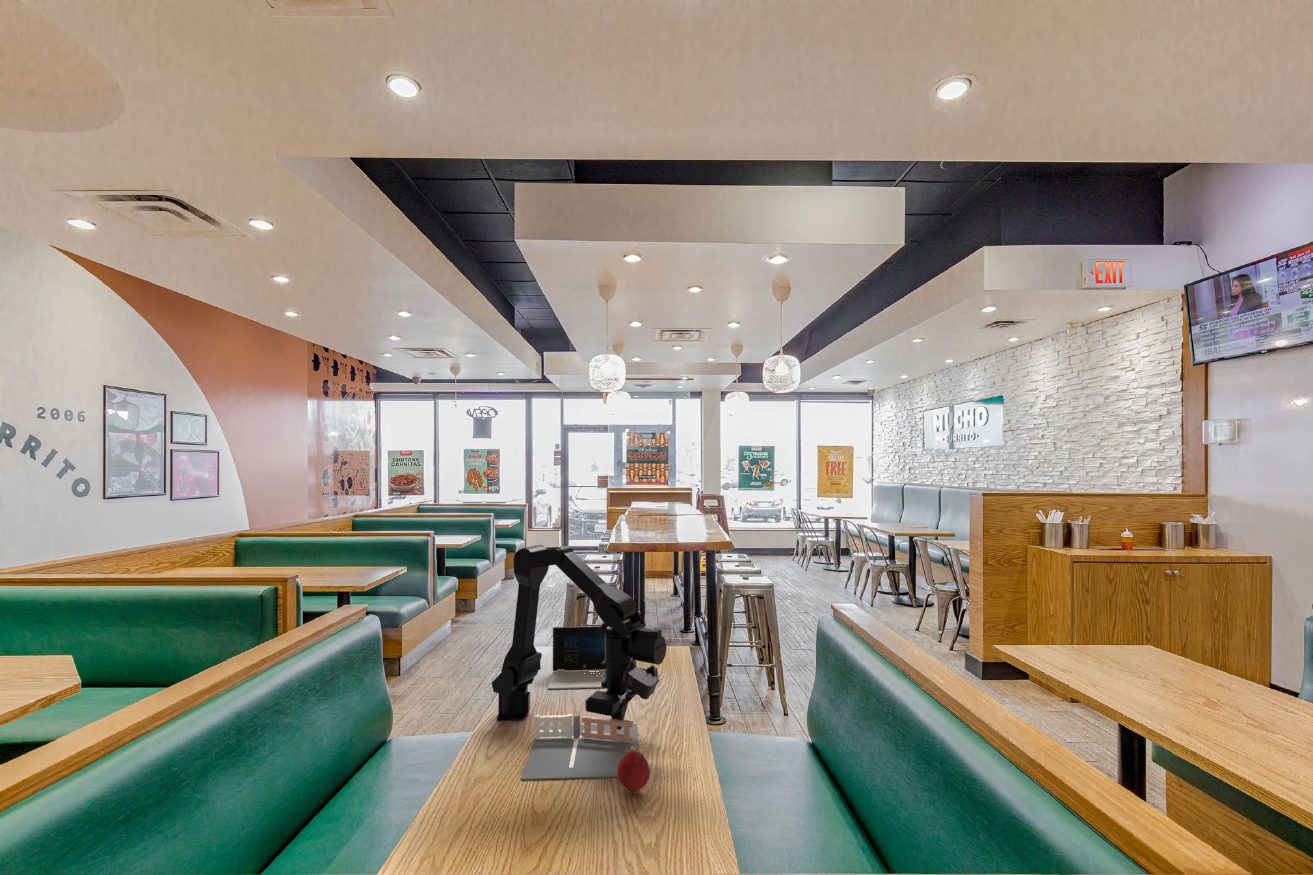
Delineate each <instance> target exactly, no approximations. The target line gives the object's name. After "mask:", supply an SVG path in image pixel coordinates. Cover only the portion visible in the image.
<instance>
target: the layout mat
mask: <svg viewBox="0 0 1313 875" xmlns="http://www.w3.org/2000/svg"><path fill="white" fill-rule="evenodd" d="M540 730H544V725H540ZM550 730H553V725H550ZM559 730H561V724H559ZM583 730H584V724H580V737H579V738H574V737H573V724H572V739H567V737H561V736H558V737H553V736H549V737H544V736H540V739H538V740H535V737H534V738H533V741H532V744H531V748H530V750H529V753H528V757H527V759H526V762H525V765H524V767H523V771H522V773H521V777H520V781H546V780H547V781H548V780H581V779H582V780H583V779H585V780H587V779H589V780H590V779H618V775H617V770H618V765H619V762H620V760H621V759H622V758H623V756H624V755H625V754H627V753H628V752H630V747H631V746H633V747H634V748H635V749H636V750H637V751H638V752H639V747H638V746H639V744H638V743H639V742H638V740H639V739H638V724H637V723H633V727H632V728H631V727H630V736H633V742H629V743H627V742H624V741H617V740H616V741H610V740H609V739H603V740H602V739H597V738H592V737H590V738H585V737H583V736H582V731H583ZM591 731H595V732H597V724H591ZM604 733H610V725H604ZM617 734H621V735H624V727H622V729H621V730H618V729H617Z"/></svg>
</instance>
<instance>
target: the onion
mask: <svg viewBox="0 0 1313 875" xmlns="http://www.w3.org/2000/svg"><path fill="white" fill-rule="evenodd" d="M617 775H618V778H617V779H618V780H619V783H620V784H621V786H622V787H623V788H625V789H626V791H628V792H629V793H631V794H634V793H637V792H638V791H640V790H641V789H643V788H644V787H645V786H646V784H647V783H648V781H649V779H650V775H651V772H650V765H649V762H648V760H647V759H646V757H645V755H643V754H642V752H640V751H639V750H638V751H637V750H636V749H635V748H634V747H633V746H631V747H630V752H628V753H627V754H625V755H624V756H623V758H622V759H621V760H620V762H619V765H618V770H617Z"/></svg>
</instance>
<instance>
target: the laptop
mask: <svg viewBox="0 0 1313 875" xmlns="http://www.w3.org/2000/svg"><path fill="white" fill-rule="evenodd" d="M601 626H602V625H599V626H598V625H596V626H595V625H594V626H593V625H591V626H556V627H555V626H553V627H552V672H551V676H550V680H549V684H548V688H547V689H548V690H572V689H573V690H579V689H581V688H582V689H604V688H605V687H601V682H602V681H604V680H605V668H601V663H602V662H603V661H604V660H605V635H600V634H596V630H598V629H599V628H600V627H601ZM589 671H595V672H589ZM596 671H599V672H596ZM584 673H585V674H584ZM591 673H592V674H591ZM593 673H594V674H593ZM599 673H600V674H599ZM603 673H604V674H603ZM597 675H598V676H597ZM601 675H602V676H601ZM605 689H606V688H605Z"/></svg>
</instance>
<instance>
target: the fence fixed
mask: <svg viewBox="0 0 1313 875" xmlns="http://www.w3.org/2000/svg"><path fill="white" fill-rule="evenodd" d="M541 723H543V726H544V730H540V726H541ZM551 723H552V726H553V730H550V726H551ZM559 723H560V724H559ZM559 725H561V730H559ZM572 725H573V713H567V714H562V715H559V714H558V715H557V714H556V715H555V714H554V715H541V714H535V716H534V738H535V740H538V739H540V736H544V737H549V736H553V737H558V736H561V737H567V739H572Z"/></svg>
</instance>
